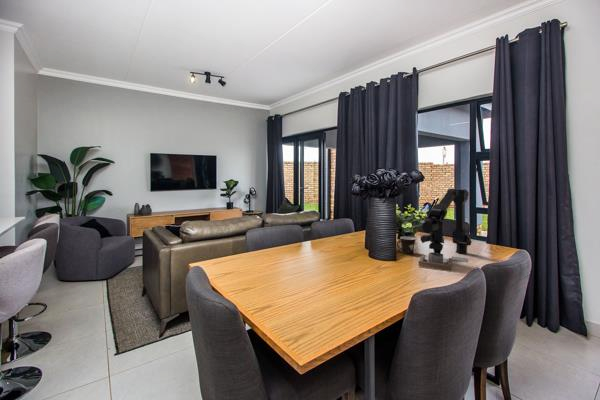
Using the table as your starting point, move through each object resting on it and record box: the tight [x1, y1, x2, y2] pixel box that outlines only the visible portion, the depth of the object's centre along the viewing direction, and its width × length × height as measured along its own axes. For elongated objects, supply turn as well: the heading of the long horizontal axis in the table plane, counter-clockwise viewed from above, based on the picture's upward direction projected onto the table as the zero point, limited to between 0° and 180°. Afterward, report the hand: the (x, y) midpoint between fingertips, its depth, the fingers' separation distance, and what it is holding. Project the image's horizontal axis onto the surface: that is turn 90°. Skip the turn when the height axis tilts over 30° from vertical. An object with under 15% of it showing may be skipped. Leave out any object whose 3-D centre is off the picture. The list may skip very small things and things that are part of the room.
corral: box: [418, 254, 453, 273], centre depth 152 cm, size 15×15×3 cm
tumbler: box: [427, 251, 444, 264], centre depth 152 cm, size 7×7×6 cm
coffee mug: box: [396, 236, 417, 256], centre depth 174 cm, size 12×9×10 cm
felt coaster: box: [450, 256, 469, 263], centre depth 161 cm, size 8×8×1 cm
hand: (436, 258), depth 157 cm, fingers closed
